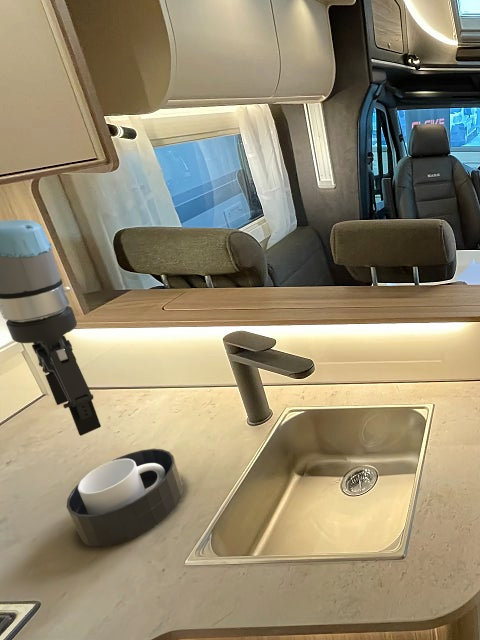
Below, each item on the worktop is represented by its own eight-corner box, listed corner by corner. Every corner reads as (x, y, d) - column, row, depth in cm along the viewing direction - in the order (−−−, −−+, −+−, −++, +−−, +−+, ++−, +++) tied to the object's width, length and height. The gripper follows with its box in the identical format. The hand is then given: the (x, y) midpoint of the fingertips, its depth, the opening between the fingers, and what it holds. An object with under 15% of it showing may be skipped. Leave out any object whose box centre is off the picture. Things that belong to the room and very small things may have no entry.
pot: (69, 518, 83) (55, 488, 80) (165, 465, 96) (156, 438, 93) (95, 564, 75) (81, 533, 72) (196, 499, 88) (187, 470, 85)
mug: (167, 478, 92) (155, 442, 89) (175, 501, 87) (162, 463, 83) (92, 514, 84) (76, 475, 80) (96, 542, 78) (79, 502, 75)
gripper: (94, 325, 66) (129, 431, 73) (50, 286, 78) (84, 380, 85) (24, 346, 60) (70, 459, 67) (-12, 300, 72) (30, 399, 79)
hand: (78, 415), depth 76 cm, fingers open, 13 cm apart
